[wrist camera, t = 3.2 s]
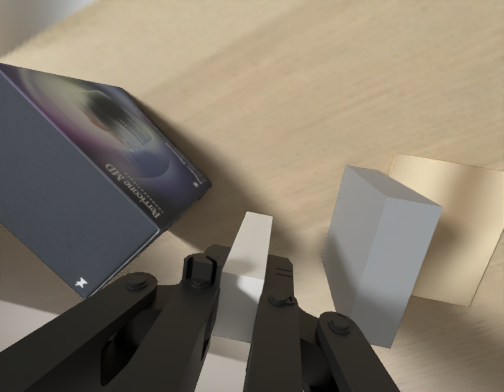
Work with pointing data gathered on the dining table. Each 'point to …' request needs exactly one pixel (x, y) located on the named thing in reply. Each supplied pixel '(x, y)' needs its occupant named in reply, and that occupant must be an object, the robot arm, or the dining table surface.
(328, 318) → the robot arm
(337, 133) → the dining table surface
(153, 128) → the small box
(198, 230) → the dining table surface
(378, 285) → the grey square slab
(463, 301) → the cork mat
